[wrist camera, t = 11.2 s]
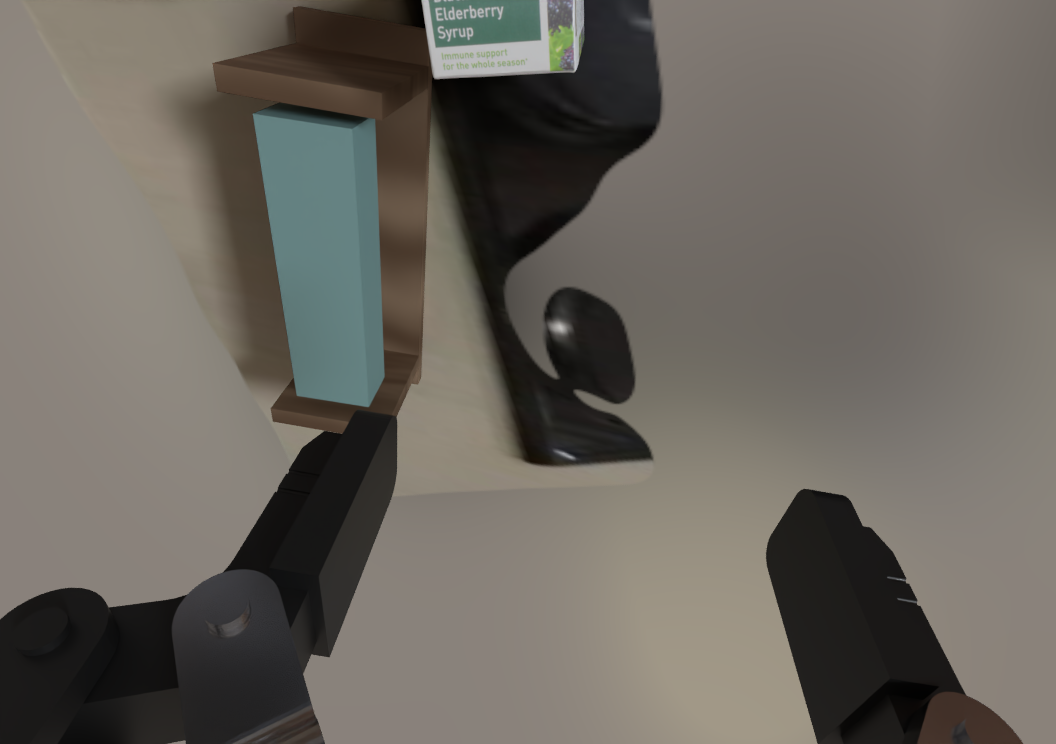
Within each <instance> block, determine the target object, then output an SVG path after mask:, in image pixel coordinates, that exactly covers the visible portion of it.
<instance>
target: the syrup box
mask: <svg viewBox="0 0 1056 744" xmlns="http://www.w3.org/2000/svg"><path fill="white" fill-rule="evenodd" d="M421 1H422V7H423V14H424V20H425V27H426V33H427V40H428V47H429V54H430V60H431V68H432V74H433V77H434V79H448V78H467V77H487V76H505V75H523V74H542V73H561V72H571V73H574V72H575V71H576V69H577V67H578V63H579V58H580V54H581V49H582V46H583V42H584V0H421Z"/></svg>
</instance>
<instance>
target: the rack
mask: <svg viewBox="0 0 1056 744" xmlns="http://www.w3.org/2000/svg"><path fill="white" fill-rule="evenodd" d="M293 12H294V24H295V35H296V43H294V44H290V45H286V46H282V47H278V48H274V49H269V50H265V51H261V52H257V53H253V54H249V55H244V56H240V57H236V58H232V59H228V60H224V61H219V62H215V63H213V69H214V75H215V81H216V86H217V91H219V92H224V93H230V94H236V95H241V96H247V97H253V98H258V99H264V100H270V101H276V102H281V103H287V104H293V105H298V106H304V107H310V108H315V109H321V110H327V111H332V112H338V113H344V114H349V115H355V116H361V117H366V118H372V119H375V130H376V158H377V185H378V212H379V240H380V267H381V295H382V322H383V349H384V379H383V381H382V383H381V385H380V387H379V389H378V391H377V393H376V394H375V396H374V398H373V400H372V402H371V404H370V406H369V407H364V406H358V405H352V404H346V403H339V402H333V401H327V400H320V399H314V398H308V397H302V396H297V394H296V388H295V381H294V378H293V379H292V381H291V382H290V383H289V385H288V386H287V387H286V389H285V390H284V391H283V393H282V394H281V395H280V397H279V398H278V399H277V401H276V402H275V403H274V405H273V406H272V407H271V413H272V419H273V422H279V423H285V424H290V425H296V426H302V427H308V428H313V429H319V430H325V431H331V432H336V433H342V434H343V432H344V430H345V428H346V427H347V425H348V423H349V421H350V419H351V417H352V416H353V414H354V413H355V411H356V410H365V411H371V412H376V413H382V414H388V415H393V416H396V417H397V415H398V412H399V410H400V408H401V406H402V403H403V401H404V399H405V397H406V394H407V392H408V390H409V388H410V386H411V383H412V384H418V383H419V381H420V379H421V363H422V336H423V309H424V282H425V255H426V228H427V201H428V173H429V146H430V119H431V92H432V68H431V60H430V54H429V47H428V40H427V33H426V29H425V28H419V27H414V26H408V25H402V24H397V23H391V22H385V21H380V20H374V19H368V18H363V17H357V16H351V15H346V14H340V13H334V12H329V11H323V10H317V9H312V8H306V7H293Z"/></svg>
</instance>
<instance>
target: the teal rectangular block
mask: <svg viewBox="0 0 1056 744" xmlns="http://www.w3.org/2000/svg"><path fill="white" fill-rule="evenodd" d="M253 118H254V124H255V131H256V137H257V144H258V150H259V157H260V163H261V169H262V176H263V182H264V189H265V195H266V201H267V208H268V214H269V221H270V227H271V234H272V240H273V246H274V253H275V259H276V266H277V272H278V279H279V285H280V291H281V298H282V304H283V311H284V317H285V323H286V330H287V336H288V343H289V349H290V356H291V362H292V368H293V375H294V381H295V388H296V394H297V396H302V397H308V398H314V399H320V400H327V401H333V402H339V403H346V404H352V405H358V406H364V407H369V406H370V404H371V402H372V400H373V398H374V396H375V394H376V393H377V391H378V389H379V387H380V385H381V383H382V381H383V379H384V349H383V322H382V295H381V267H380V240H379V212H378V185H377V158H376V130H375V119H372V118H366V117H361V116H355V115H349V114H344V113H338V112H332V111H327V110H321V109H315V108H310V107H304V106H298V105H293V104H287V103H281V102H280V103H278V104H275V105H273V106H270V107H268V108H265V109H263V110H261V111H258V112H256V113H253Z"/></svg>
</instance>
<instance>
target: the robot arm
mask: <svg viewBox="0 0 1056 744" xmlns="http://www.w3.org/2000/svg"><path fill="white" fill-rule="evenodd" d="M396 474H397V418H396V416H393V415H388V414H382V413H376V412H371V411H365V410H356V411H355V413H354V414H353V416H352V417H351V419H350V421H349V423H348V425H347V427H346V428H345V430H344V432H343V434H340V433H334V432H328V431H324V432H323V433H321V434H320V435H319V436H317V437H316V438H315V439H313V440H312V441H311V442H309V443H308V444H307V445H305V446H304V447H303V448H302V449H301V451H300V452H299V454H298V456H297V457H296V459H295V461H294V462H293V464H292V465H291V467H290V469H289V473H288V474H286V475H285V477H284V478H283V480H282V482H281V483H280V485H279V487H278V491H277V492H275V493H274V495H273V496H272V498H271V499H270V501H269V503H268V504H267V506H266V508H265V509H264V511H263V513H262V514H261V516H260V517H259V519H258V521H257V522H256V524H255V525H254V527H253V529H252V530H251V532H250V534H249V535H248V537H247V538H246V540H245V542H244V543H243V545H242V547H241V548H240V550H239V551H238V553H237V555H236V556H235V558H234V560H233V561H232V562H231V564H230V565H229V566H228V568H227V569H226V570H225V571H224V572H223V573H220V574H218V575H215V576H213V577H211V578H209V579H207V580H206V581H204V582H202V583H201V584H199V585H198V586H196V587H195V588H194V589H193V590H192V591H191V592H190V593H189V594H187V595H185V596H182V597H178V598H175V599H169V600H163V601H156V602H148V603H140V604H133V605H125V606H118V607H110V608H109V607H108V606H107V604H106V602H105V601H104V599H103V598H102V597H101V596H100V595H98V594H97V593H96V592H93V591H91V590H87V589H83V588H65V589H59V590H54V591H50V592H47V593H44V594H41V595H39V596H36V597H34V598H32V599H30V600H28V601H26V602H24V603H22V604H21V605H19V606H17V607H16V608H14V609H13V610H11V611H10V612H9V613H7V614H6V615H5V616H4V617H3V618H1V619H0V744H168V743H172V742H178V741H183V740H186V744H325V742H324V739H323V736H322V732H321V729H320V726H319V723H318V721H317V718H316V717H315V714H314V711H313V707H312V704H311V701H310V697H309V694H308V691H307V687H306V683H305V680H304V676H303V672H304V670H305V668H306V666H307V663H308V661H309V658H310V656H311V654H313V655H319V656H325V657H330V655H331V652H332V650H333V647H334V644H335V642H336V639H337V637H338V634H339V632H340V629H341V626H342V624H343V621H344V619H345V616H346V613H347V611H348V608H349V606H350V603H351V600H352V598H353V596H354V593H355V590H356V588H357V585H358V583H359V580H360V578H361V575H362V572H363V570H364V567H365V565H366V562H367V560H368V557H369V554H370V552H371V549H372V547H373V544H374V542H375V539H376V536H377V534H378V531H379V529H380V526H381V524H382V521H383V518H384V516H385V513H386V511H387V508H388V506H389V503H390V500H391V497H392V494H393V490H394V486H395V481H396ZM766 561H767V568H768V572H769V575H770V578H771V582H772V586H773V589H774V592H775V596H776V599H777V603H778V607H779V610H780V613H781V617H782V621H783V624H784V627H785V631H786V634H787V638H788V641H789V645H790V649H791V652H792V656H793V659H794V662H795V666H796V669H797V673H798V677H799V680H800V683H801V687H802V690H803V694H804V697H805V701H806V704H807V708H808V711H809V715H810V718H811V722H812V725H813V729H814V732H815V736H816V739H817V743H818V744H1023V743H1022V741H1021V740H1020V738H1019V737H1018V736H1017V734H1016V733H1015V732H1014V731H1013V729H1012V728H1011V727H1010V726H1009V725H1008V724H1007V723H1006V722H1005V721H1004V720H1003V719H1002V718H1001V717H1000V716H998V715H997V714H996V713H995V712H994V711H992V710H991V709H990V708H988V707H987V706H985V705H984V704H982V703H981V702H979V701H977V700H975V699H973V698H971V697H969V696H966V694H965V692H964V690H963V689H962V687H961V685H960V683H959V681H958V679H957V677H956V675H955V673H954V671H953V669H952V667H951V665H950V663H949V661H948V659H947V657H946V655H945V654H944V652H943V650H942V648H941V646H940V644H939V642H938V640H937V638H936V636H935V634H934V632H933V630H932V628H931V626H930V624H929V622H928V620H927V618H926V616H925V614H924V613H923V611H922V608H921V606H918V605H917V598H916V597H915V595H914V593H913V591H912V589H911V587H910V585H909V584H907V583H906V577H905V575H904V573H903V571H902V569H901V567H900V565H899V563H898V561H897V560H896V557H895V555H894V553H893V552H892V551H891V550H890V549H889V547H888V546H887V545H886V544H885V543H884V542H883V541H882V540H881V539H880V537H879V536H878V535H877V534H876V533H875V532H874V531H873V530H872V529H871V528H870V527H864V526H862V523H861V521H860V519H859V517H858V515H857V513H856V511H855V509H854V507H853V505H852V503H851V501H850V500H849V499H848V498H847V497H846V496H843V495H838V494H832V493H826V492H821V491H815V490H809V489H803V490H801V491H799V492H798V494H797V495H796V497H795V498H794V500H793V501H792V503H791V504H790V506H789V507H788V509H787V511H786V513H785V514H784V516H783V517H782V519H781V520H780V522H779V523H778V525H777V527H776V528H775V530H774V531H773V533H772V534H771V536H770V538H769V542H768V545H767V552H766Z"/></svg>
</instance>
